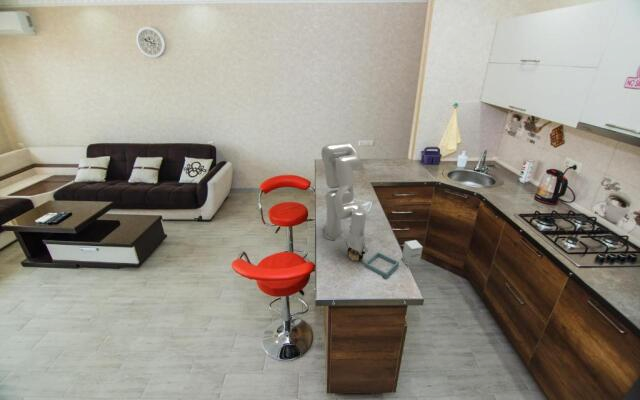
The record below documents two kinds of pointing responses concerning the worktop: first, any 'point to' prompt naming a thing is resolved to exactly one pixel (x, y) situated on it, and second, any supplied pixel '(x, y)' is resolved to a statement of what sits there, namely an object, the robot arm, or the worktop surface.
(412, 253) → the supplement box
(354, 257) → the ring
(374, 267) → the tray
